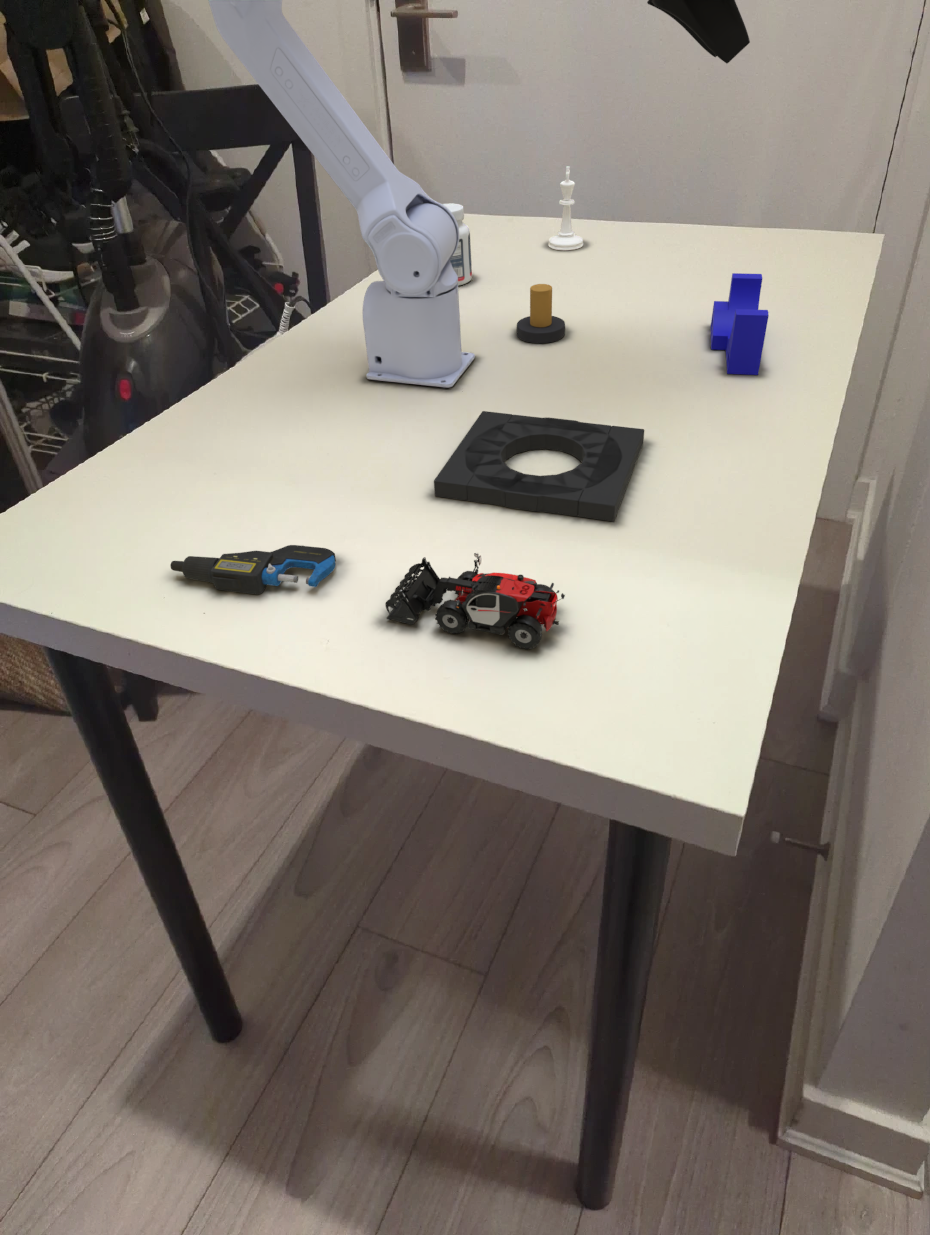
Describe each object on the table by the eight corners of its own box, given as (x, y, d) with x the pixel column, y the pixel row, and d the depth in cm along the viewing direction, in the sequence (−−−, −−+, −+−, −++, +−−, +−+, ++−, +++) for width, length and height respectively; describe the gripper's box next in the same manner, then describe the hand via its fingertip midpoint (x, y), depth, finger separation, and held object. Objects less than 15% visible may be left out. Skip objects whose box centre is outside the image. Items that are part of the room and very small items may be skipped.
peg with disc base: (510, 341, 97) (510, 294, 93) (524, 323, 101) (524, 277, 97) (558, 345, 95) (559, 297, 92) (569, 327, 99) (571, 280, 96)
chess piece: (546, 250, 121) (547, 171, 114) (549, 239, 125) (551, 162, 118) (582, 250, 120) (585, 171, 114) (584, 239, 124) (587, 162, 117)
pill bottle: (447, 271, 116) (443, 199, 110) (479, 277, 114) (477, 204, 108) (423, 283, 113) (417, 210, 107) (455, 290, 110) (451, 215, 105)
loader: (385, 622, 60) (378, 567, 57) (412, 583, 63) (406, 529, 60) (554, 658, 56) (555, 601, 53) (573, 615, 59) (575, 559, 56)
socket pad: (434, 497, 72) (432, 481, 71) (483, 424, 82) (483, 410, 81) (613, 523, 68) (614, 506, 67) (643, 443, 77) (645, 428, 77)
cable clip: (710, 328, 97) (717, 273, 93) (752, 329, 96) (761, 274, 92) (711, 373, 88) (720, 314, 84) (758, 375, 87) (768, 315, 83)
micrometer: (339, 543, 64) (316, 584, 61) (342, 564, 66) (319, 605, 62) (192, 527, 67) (160, 565, 63) (197, 547, 68) (167, 586, 64)
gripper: (680, -175, 57) (793, 10, 62) (664, -147, 68) (760, 6, 73) (594, -79, 60) (708, 89, 65) (593, -68, 72) (690, 73, 77)
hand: (731, 50), depth 69 cm, fingers open, 7 cm apart
